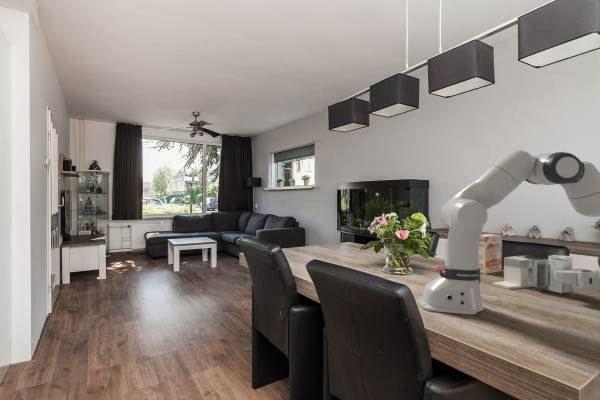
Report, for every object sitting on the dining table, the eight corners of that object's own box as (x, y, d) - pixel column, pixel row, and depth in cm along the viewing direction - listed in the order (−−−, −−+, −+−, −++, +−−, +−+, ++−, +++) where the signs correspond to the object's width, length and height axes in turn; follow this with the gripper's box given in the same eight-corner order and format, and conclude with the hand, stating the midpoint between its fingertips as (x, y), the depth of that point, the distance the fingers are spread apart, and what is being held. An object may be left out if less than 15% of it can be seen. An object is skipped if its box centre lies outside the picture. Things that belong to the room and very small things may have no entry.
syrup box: (556, 288, 138) (557, 254, 138) (572, 292, 132) (572, 256, 132) (547, 290, 136) (547, 255, 136) (562, 293, 130) (562, 257, 130)
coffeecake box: (485, 274, 169) (485, 236, 169) (472, 271, 175) (472, 235, 175) (502, 271, 176) (502, 234, 176) (489, 268, 183) (489, 233, 183)
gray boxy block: (556, 284, 141) (556, 259, 141) (537, 287, 137) (537, 260, 137) (532, 279, 150) (532, 255, 150) (513, 281, 146) (513, 256, 146)
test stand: (550, 284, 150) (550, 257, 150) (509, 289, 141) (509, 260, 141) (533, 279, 157) (533, 254, 157) (492, 284, 149) (492, 257, 149)
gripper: (615, 268, 125) (574, 261, 138) (579, 272, 118) (540, 265, 131) (614, 285, 125) (574, 276, 138) (579, 289, 118) (540, 280, 131)
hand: (557, 271), depth 135 cm, fingers closed on syrup box, 6 cm apart
